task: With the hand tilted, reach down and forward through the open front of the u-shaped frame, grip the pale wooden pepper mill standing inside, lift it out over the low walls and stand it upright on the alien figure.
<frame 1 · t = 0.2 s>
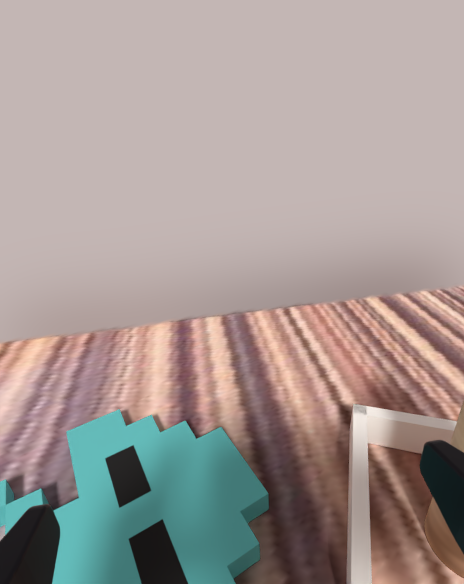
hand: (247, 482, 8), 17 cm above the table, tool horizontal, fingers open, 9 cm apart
alien figure: (114, 553, 23), on the table
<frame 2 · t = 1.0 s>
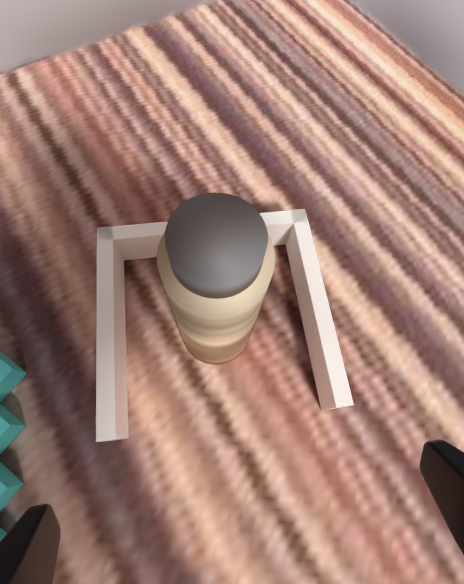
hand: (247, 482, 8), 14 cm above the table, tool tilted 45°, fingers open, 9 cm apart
u-shaped frame: (215, 330, 24), on the table
pepper mill: (216, 298, 18), in the u-shaped frame
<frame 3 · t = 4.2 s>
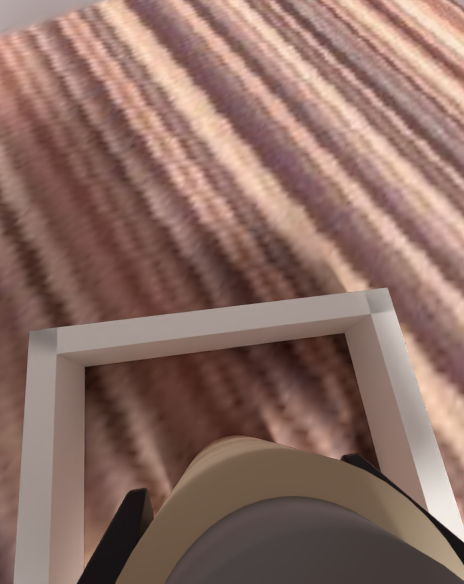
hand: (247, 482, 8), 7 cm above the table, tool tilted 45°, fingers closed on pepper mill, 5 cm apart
u-shaped frame: (238, 497, 14), on the table
pepper mill: (255, 546, 8), in the u-shaped frame, touching gripper
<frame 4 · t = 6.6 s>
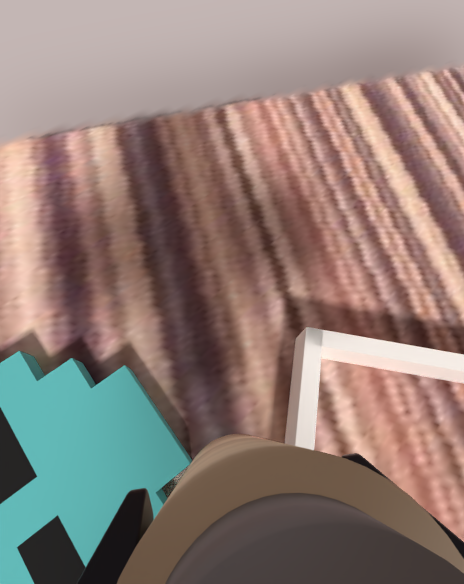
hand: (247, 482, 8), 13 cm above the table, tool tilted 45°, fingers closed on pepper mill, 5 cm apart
alien figure: (11, 529, 20), on the table
u-shaped frame: (399, 472, 21), on the table
pepper mill: (256, 544, 8), point 13 cm above the table, touching gripper
when the fingers open (10 cm above the table, at t = 8.9 s): pepper mill drops 2 cm, resting on alien figure.
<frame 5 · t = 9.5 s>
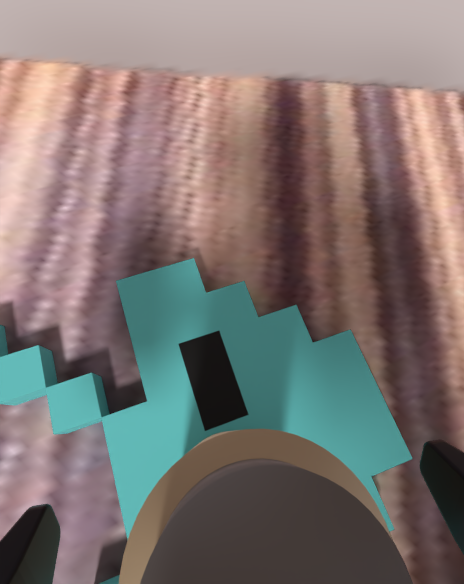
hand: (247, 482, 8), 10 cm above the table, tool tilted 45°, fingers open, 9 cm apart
alien figure: (192, 459, 18), on the table, touching pepper mill
pepper mill: (240, 516, 10), point 8 cm above the table, touching alien figure
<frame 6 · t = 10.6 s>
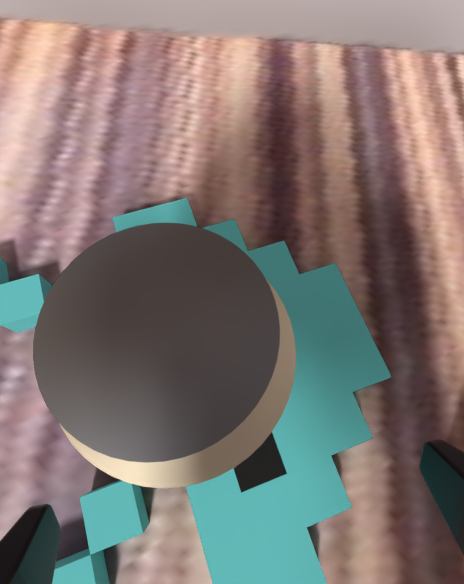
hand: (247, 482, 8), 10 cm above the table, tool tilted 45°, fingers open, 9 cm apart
alien figure: (185, 384, 19), on the table, touching pepper mill
pepper mill: (195, 381, 11), point 8 cm above the table, touching alien figure
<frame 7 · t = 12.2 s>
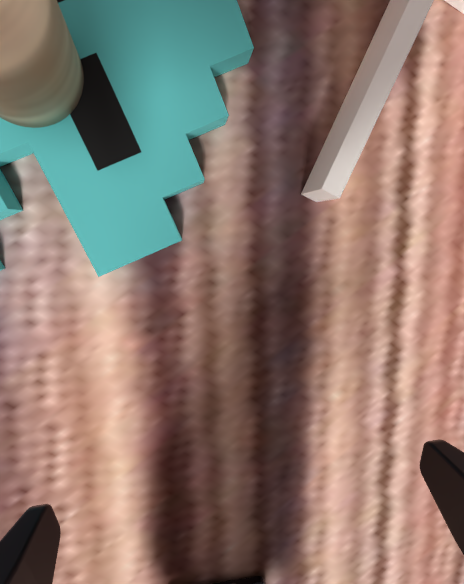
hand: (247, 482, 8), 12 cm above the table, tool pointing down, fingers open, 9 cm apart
alien figure: (35, 77, 17), on the table, touching pepper mill
u-shaped frame: (453, 148, 20), on the table
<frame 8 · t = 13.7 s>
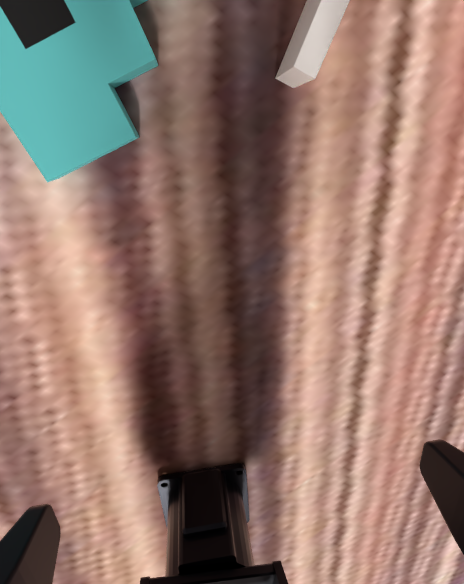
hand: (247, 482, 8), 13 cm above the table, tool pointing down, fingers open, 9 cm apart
u-shaped frame: (461, 13, 16), on the table
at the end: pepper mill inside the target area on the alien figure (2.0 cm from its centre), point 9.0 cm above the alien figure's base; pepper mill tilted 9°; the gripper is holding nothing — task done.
